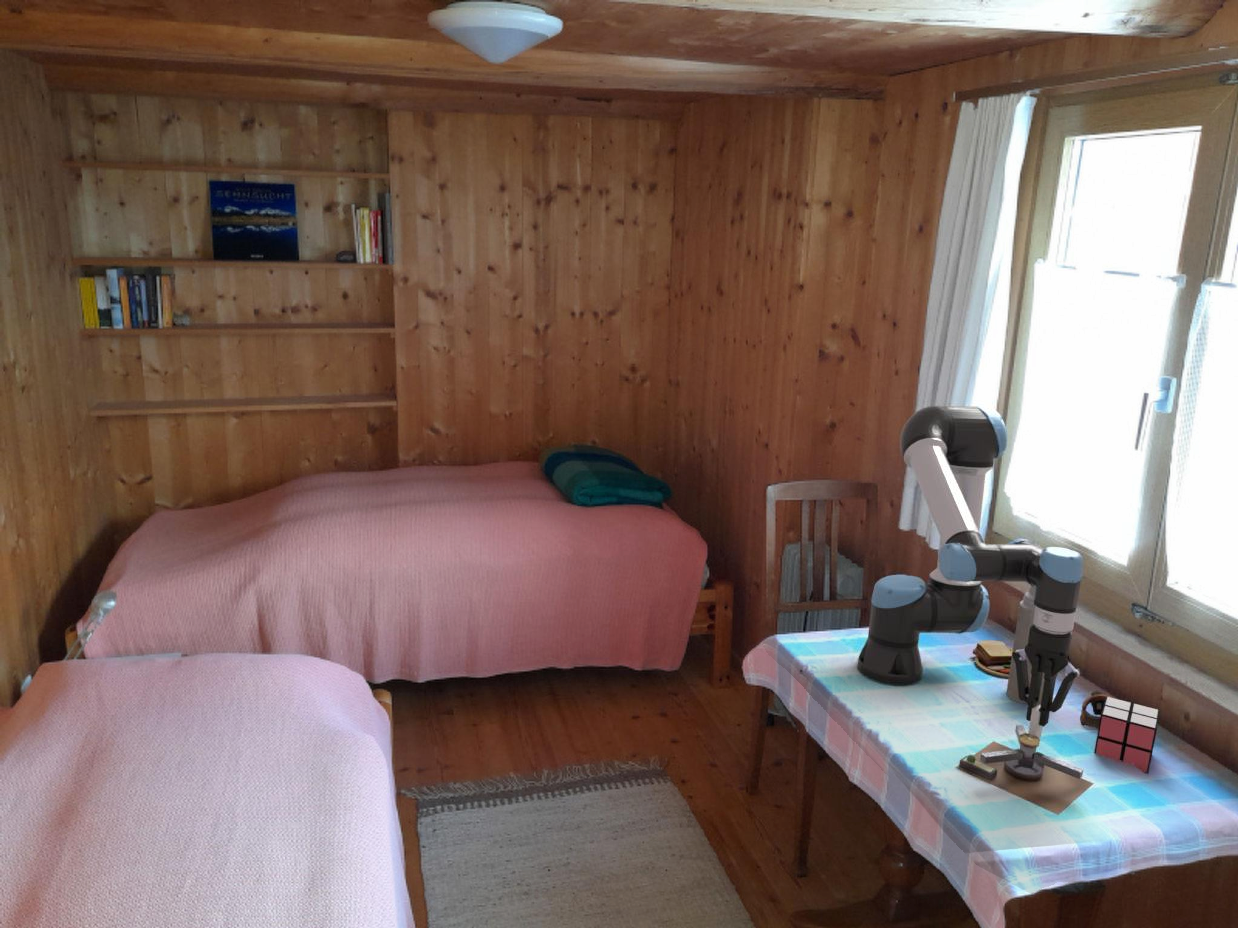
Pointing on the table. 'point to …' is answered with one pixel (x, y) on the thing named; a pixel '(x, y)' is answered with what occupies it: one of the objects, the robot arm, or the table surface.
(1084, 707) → the pottery mug
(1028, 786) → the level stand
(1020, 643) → the thermos bottle
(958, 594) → the robot arm
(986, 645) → the toy sandwich meal
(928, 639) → the table surface
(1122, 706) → the puzzle cube
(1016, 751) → the cam capstan
